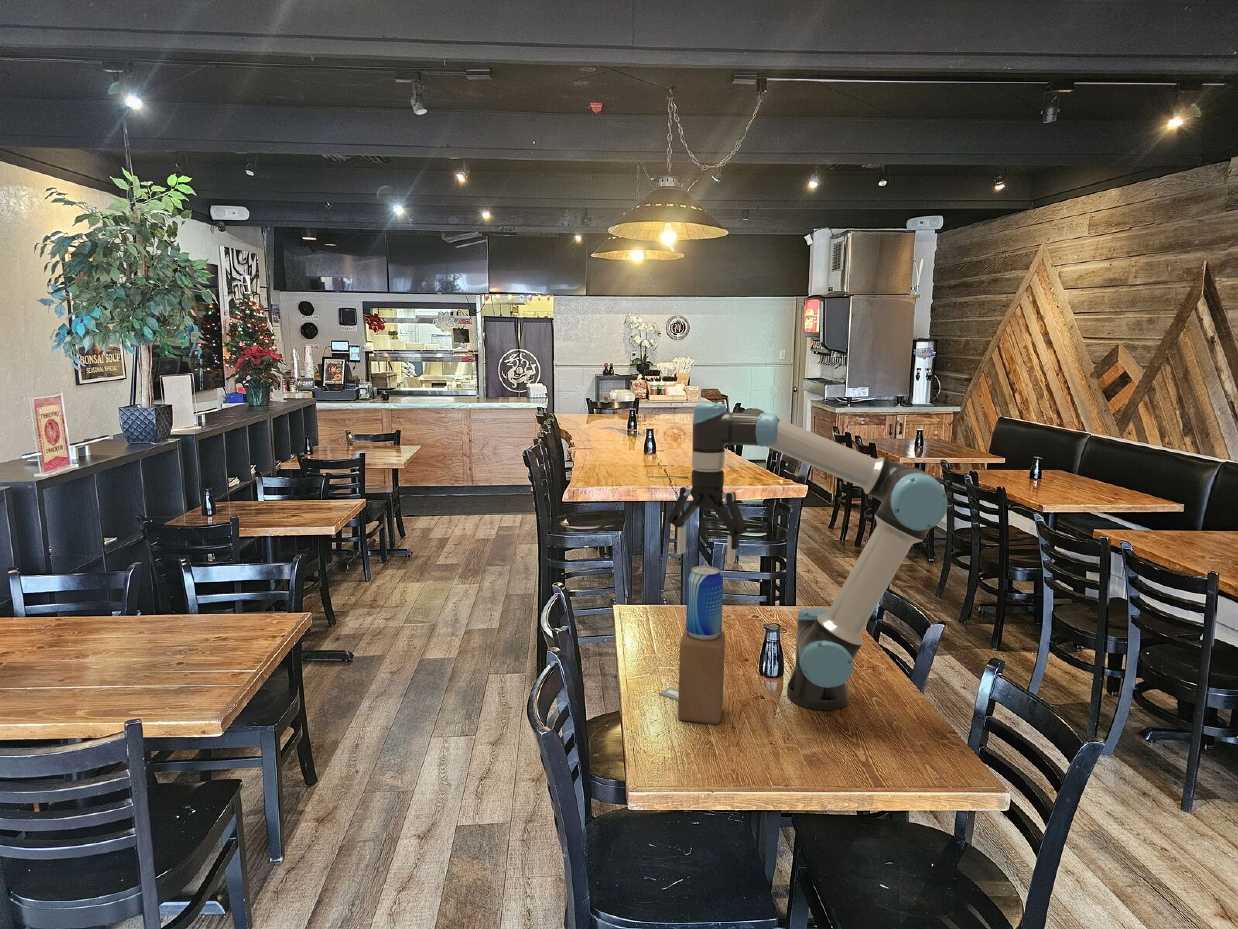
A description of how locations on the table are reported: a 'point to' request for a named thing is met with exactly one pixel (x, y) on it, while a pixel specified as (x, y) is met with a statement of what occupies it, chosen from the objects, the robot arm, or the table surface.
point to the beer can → (704, 603)
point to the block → (701, 679)
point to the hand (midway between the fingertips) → (705, 557)
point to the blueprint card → (670, 693)
